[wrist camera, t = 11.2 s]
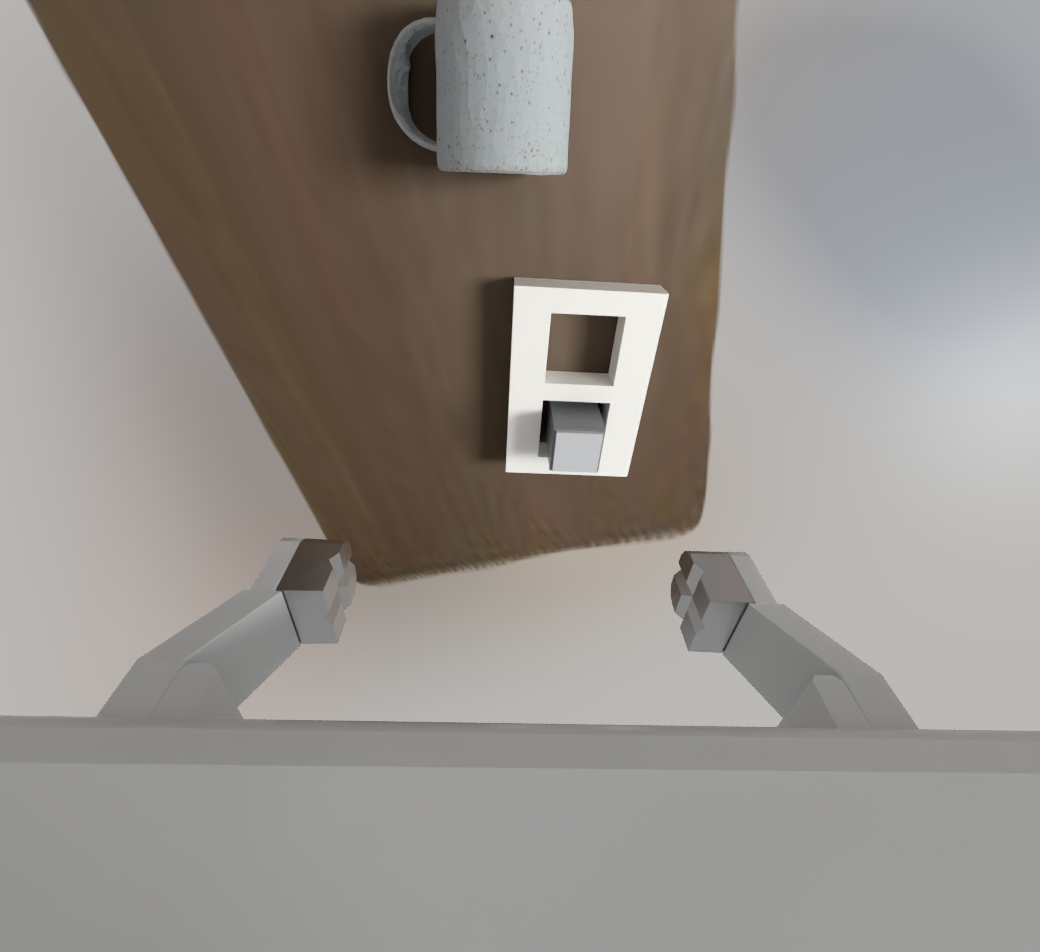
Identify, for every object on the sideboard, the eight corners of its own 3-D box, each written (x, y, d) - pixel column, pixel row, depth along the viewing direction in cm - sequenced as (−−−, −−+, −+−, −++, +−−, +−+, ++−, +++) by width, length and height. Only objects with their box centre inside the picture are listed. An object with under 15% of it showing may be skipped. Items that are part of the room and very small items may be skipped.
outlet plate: (514, 276, 35) (514, 285, 33) (660, 285, 36) (669, 294, 34) (506, 456, 45) (505, 472, 43) (621, 461, 45) (627, 476, 43)
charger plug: (549, 395, 41) (554, 430, 36) (595, 397, 41) (606, 432, 36) (545, 435, 43) (549, 473, 38) (589, 437, 44) (598, 474, 39)
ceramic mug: (571, 1, 27) (585, -40, 21) (561, 173, 32) (571, 182, 25) (383, -2, 27) (340, -44, 20) (402, 171, 32) (372, 179, 25)
